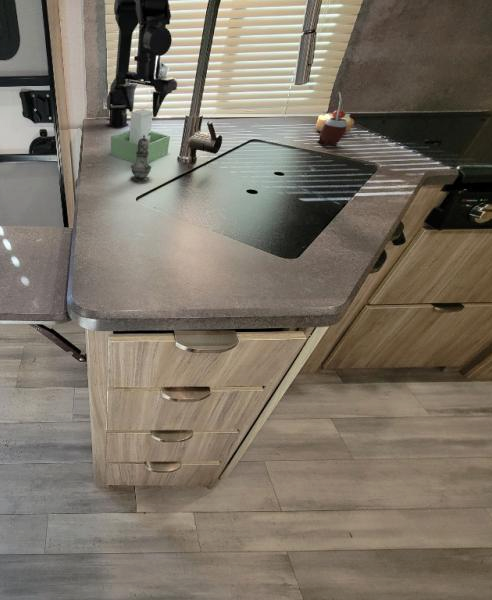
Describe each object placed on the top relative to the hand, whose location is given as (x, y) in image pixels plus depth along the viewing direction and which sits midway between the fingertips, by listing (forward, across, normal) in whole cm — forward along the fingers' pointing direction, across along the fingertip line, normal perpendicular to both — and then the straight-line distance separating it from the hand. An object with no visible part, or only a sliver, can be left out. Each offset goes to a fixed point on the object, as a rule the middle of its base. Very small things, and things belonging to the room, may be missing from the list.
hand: (142, 114), depth 101 cm
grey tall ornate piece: (+12, -13, +16) cm, 24 cm away
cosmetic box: (+12, 0, 0) cm, 12 cm away
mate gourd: (+12, -42, -54) cm, 69 cm away
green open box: (+12, 0, 0) cm, 12 cm away
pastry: (+12, -39, -70) cm, 81 cm away
